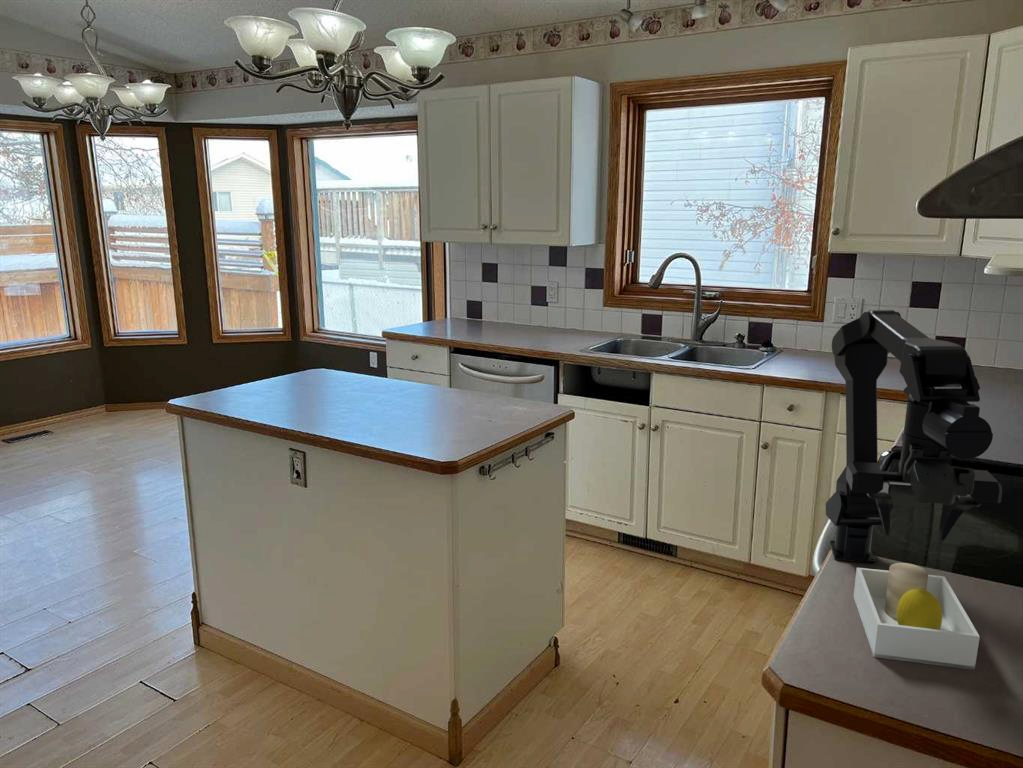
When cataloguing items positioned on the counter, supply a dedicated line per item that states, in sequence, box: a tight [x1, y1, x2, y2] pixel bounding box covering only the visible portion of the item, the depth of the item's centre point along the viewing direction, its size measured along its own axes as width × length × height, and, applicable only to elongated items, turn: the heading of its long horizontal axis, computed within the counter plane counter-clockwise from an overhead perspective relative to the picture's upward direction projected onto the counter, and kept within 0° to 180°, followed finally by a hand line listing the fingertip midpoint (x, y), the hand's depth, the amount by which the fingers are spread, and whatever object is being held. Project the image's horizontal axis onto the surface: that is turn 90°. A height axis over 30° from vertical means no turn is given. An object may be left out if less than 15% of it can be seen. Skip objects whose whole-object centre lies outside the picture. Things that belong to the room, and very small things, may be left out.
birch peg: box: [885, 562, 929, 620], centre depth 110 cm, size 5×5×7 cm
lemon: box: [896, 588, 942, 630], centre depth 103 cm, size 6×6×8 cm
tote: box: [853, 567, 980, 671], centre depth 107 cm, size 16×12×5 cm
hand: (913, 536), depth 107 cm, fingers open, 7 cm apart
